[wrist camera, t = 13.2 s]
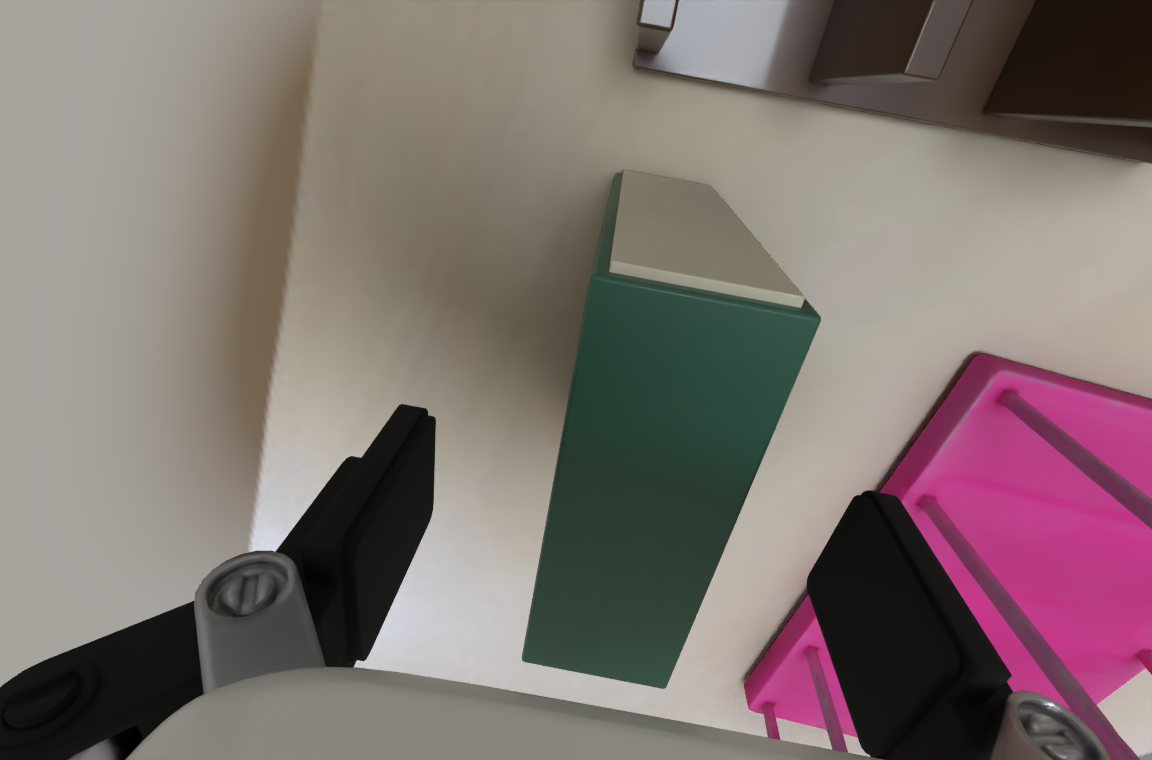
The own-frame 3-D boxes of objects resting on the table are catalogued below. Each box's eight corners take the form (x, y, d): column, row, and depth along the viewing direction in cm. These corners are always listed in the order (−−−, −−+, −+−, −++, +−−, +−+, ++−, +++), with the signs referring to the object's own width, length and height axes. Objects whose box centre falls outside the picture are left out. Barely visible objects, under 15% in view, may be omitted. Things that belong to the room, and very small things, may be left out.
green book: (571, 409, 26) (520, 662, 14) (616, 167, 20) (592, 262, 9) (652, 425, 26) (666, 691, 14) (718, 186, 20) (829, 306, 9)
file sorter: (740, 681, 34) (811, 1073, 21) (973, 347, 22) (1528, 761, 8) (990, 744, 35) (1223, 1167, 21) (1351, 452, 23) (2448, 998, 9)
